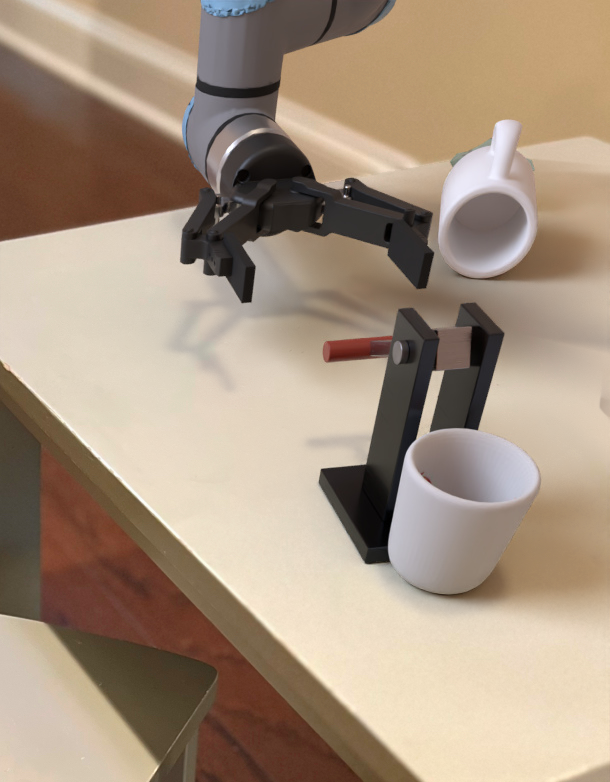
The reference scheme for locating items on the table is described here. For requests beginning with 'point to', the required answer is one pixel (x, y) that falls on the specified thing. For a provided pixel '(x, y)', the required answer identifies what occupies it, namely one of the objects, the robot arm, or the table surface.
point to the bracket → (410, 421)
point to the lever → (449, 353)
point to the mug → (489, 207)
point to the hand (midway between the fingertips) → (337, 278)
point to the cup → (458, 507)
